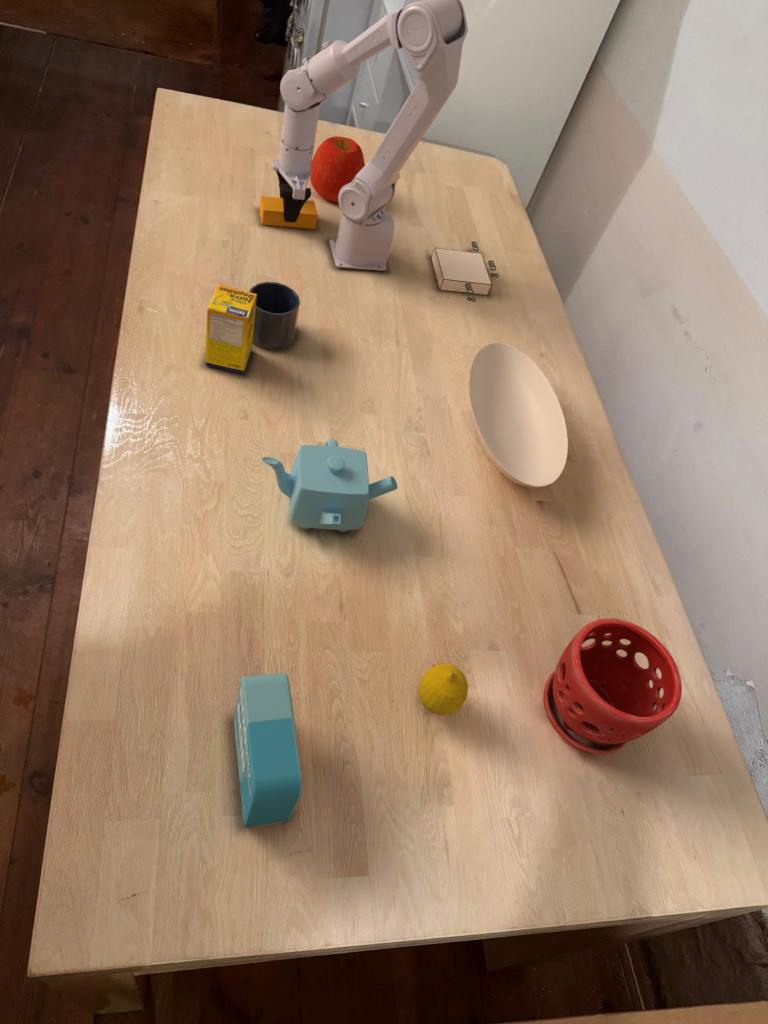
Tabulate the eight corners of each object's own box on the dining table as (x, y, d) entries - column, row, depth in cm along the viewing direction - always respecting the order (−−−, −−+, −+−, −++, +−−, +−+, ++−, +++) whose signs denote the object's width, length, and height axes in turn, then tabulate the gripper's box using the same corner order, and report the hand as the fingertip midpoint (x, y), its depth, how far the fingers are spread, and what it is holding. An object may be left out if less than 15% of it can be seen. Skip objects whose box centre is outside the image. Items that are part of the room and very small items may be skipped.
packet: (311, 215, 142) (314, 200, 140) (315, 229, 140) (317, 214, 137) (259, 210, 139) (260, 195, 137) (261, 224, 137) (263, 210, 134)
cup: (290, 318, 123) (296, 283, 117) (297, 350, 119) (302, 315, 113) (242, 316, 121) (246, 280, 115) (247, 349, 116) (251, 313, 111)
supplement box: (251, 349, 116) (258, 292, 108) (243, 375, 113) (249, 318, 104) (214, 340, 116) (217, 282, 107) (204, 366, 112) (207, 308, 103)
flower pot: (651, 749, 90) (706, 711, 81) (558, 772, 86) (605, 736, 77) (604, 652, 97) (650, 607, 88) (517, 669, 93) (555, 624, 84)
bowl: (447, 364, 125) (458, 336, 120) (530, 375, 128) (544, 348, 123) (472, 508, 107) (486, 481, 102) (567, 515, 110) (585, 490, 106)
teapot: (384, 479, 107) (400, 432, 99) (390, 561, 98) (409, 517, 90) (257, 467, 103) (264, 417, 95) (253, 552, 94) (260, 505, 87)
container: (426, 241, 145) (430, 229, 143) (481, 248, 148) (485, 236, 146) (444, 309, 134) (448, 297, 132) (503, 315, 137) (508, 303, 135)
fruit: (453, 730, 86) (475, 704, 80) (407, 718, 86) (426, 691, 80) (458, 687, 90) (480, 658, 83) (414, 675, 89) (432, 645, 83)
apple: (337, 172, 153) (347, 120, 145) (372, 200, 150) (383, 149, 142) (297, 182, 148) (304, 129, 139) (331, 212, 144) (341, 160, 136)
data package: (233, 717, 81) (241, 671, 72) (274, 712, 83) (287, 666, 73) (243, 831, 75) (254, 797, 65) (288, 824, 76) (304, 790, 67)
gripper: (269, 117, 131) (262, 188, 141) (279, 162, 123) (271, 234, 133) (309, 122, 133) (299, 192, 143) (321, 166, 125) (310, 237, 135)
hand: (288, 212), depth 138 cm, fingers closed on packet, 4 cm apart
